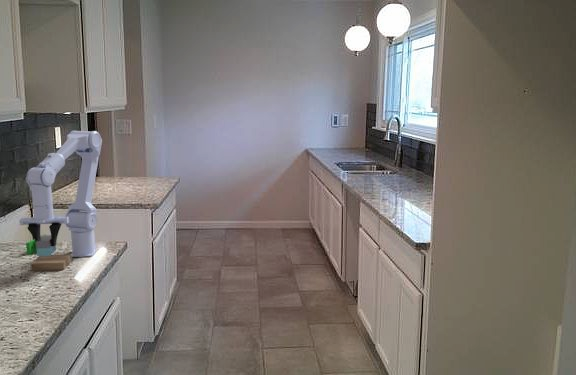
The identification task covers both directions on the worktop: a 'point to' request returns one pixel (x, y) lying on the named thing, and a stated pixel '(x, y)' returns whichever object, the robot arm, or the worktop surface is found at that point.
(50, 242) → the block
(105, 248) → the worktop surface
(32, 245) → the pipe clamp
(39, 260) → the tan flat block
